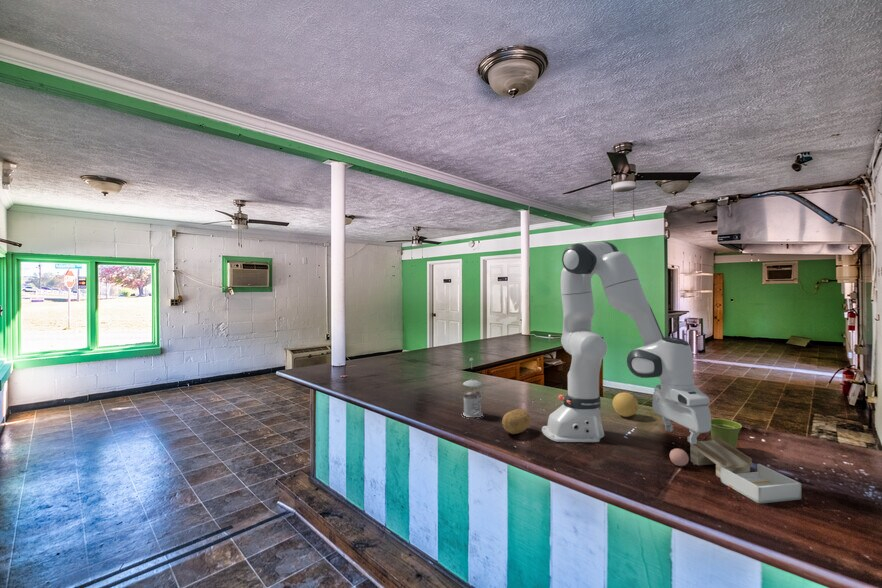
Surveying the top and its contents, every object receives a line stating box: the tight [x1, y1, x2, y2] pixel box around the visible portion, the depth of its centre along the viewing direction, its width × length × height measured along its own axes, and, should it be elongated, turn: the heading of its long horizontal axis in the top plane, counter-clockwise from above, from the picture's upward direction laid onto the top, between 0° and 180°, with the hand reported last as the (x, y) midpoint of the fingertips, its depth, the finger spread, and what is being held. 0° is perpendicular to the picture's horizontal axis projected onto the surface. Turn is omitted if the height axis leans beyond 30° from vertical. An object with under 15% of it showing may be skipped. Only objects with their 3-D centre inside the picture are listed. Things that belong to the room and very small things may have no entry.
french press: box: [462, 357, 484, 418], centre depth 169 cm, size 10×12×25 cm
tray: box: [720, 463, 802, 505], centre depth 103 cm, size 12×11×4 cm
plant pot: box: [709, 418, 743, 449], centre depth 128 cm, size 9×9×9 cm
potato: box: [501, 408, 531, 435], centre depth 147 cm, size 10×14×8 cm
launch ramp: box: [689, 436, 753, 479], centre depth 115 cm, size 9×12×7 cm
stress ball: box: [612, 391, 640, 418], centre depth 163 cm, size 10×10×10 cm
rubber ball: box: [669, 447, 690, 467], centre depth 117 cm, size 5×5×5 cm
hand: (680, 436), depth 117 cm, fingers open, 8 cm apart
